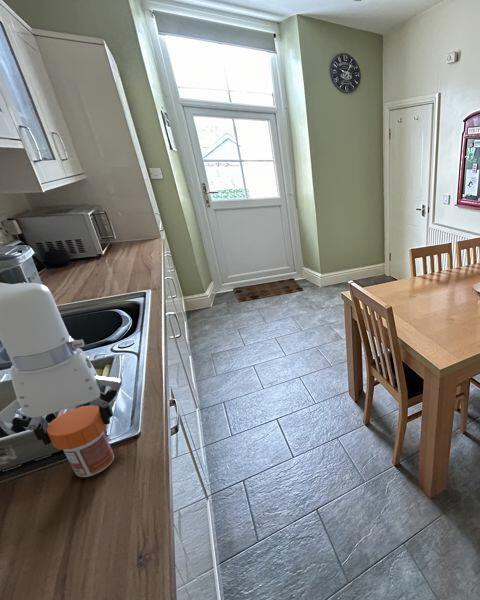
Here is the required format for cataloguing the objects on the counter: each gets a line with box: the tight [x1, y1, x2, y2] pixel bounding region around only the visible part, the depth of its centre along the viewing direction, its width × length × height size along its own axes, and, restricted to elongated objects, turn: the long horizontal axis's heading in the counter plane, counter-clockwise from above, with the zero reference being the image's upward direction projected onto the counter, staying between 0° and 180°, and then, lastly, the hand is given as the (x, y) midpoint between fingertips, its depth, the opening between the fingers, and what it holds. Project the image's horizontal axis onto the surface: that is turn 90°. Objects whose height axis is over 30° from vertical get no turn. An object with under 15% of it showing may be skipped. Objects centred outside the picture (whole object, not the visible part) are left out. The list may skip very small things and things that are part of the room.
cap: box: [46, 405, 108, 451], centre depth 64 cm, size 8×8×4 cm
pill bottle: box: [62, 431, 115, 478], centre depth 66 cm, size 6×6×11 cm
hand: (79, 429), depth 64 cm, fingers closed on cap, 8 cm apart
